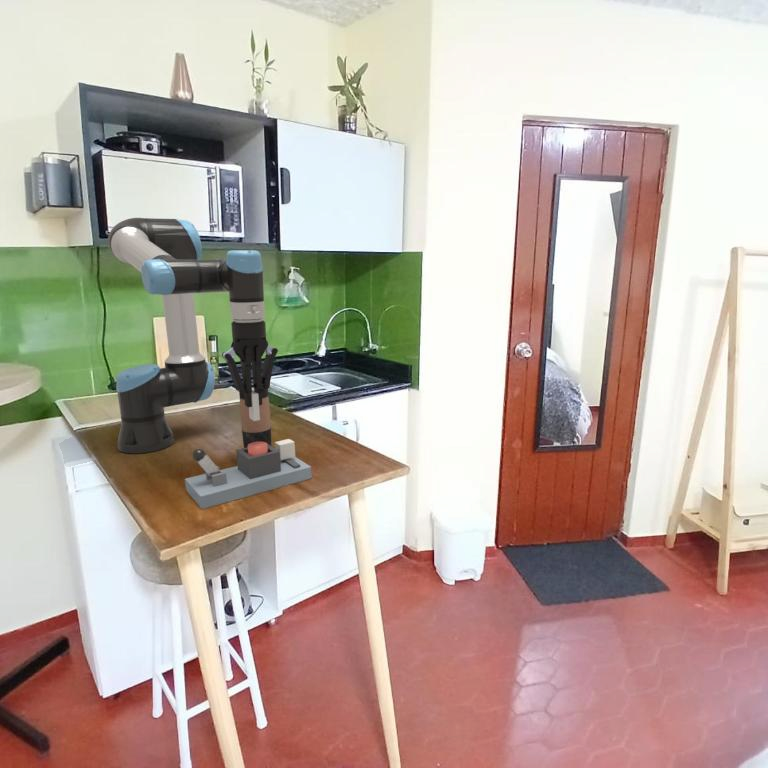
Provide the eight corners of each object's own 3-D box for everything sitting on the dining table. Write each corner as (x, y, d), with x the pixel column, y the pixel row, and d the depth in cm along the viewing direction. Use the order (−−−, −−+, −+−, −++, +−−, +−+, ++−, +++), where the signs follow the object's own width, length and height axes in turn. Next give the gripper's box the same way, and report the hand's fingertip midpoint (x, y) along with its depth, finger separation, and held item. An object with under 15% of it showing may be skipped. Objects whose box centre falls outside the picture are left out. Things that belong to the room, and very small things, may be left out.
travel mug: (278, 457, 142) (274, 386, 138) (254, 465, 137) (249, 392, 132) (262, 451, 147) (257, 382, 142) (238, 458, 142) (232, 388, 137)
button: (246, 465, 126) (244, 444, 125) (264, 461, 129) (262, 440, 128) (253, 471, 123) (252, 449, 121) (271, 466, 125) (270, 445, 124)
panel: (185, 490, 122) (182, 458, 120) (289, 463, 138) (288, 435, 136) (202, 509, 113) (198, 475, 111) (311, 478, 128) (310, 447, 126)
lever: (209, 477, 120) (188, 452, 116) (218, 469, 121) (198, 444, 117) (213, 481, 118) (192, 456, 114) (222, 472, 119) (202, 448, 115)
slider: (275, 456, 132) (274, 442, 131) (289, 453, 134) (289, 438, 133) (280, 460, 130) (279, 445, 129) (295, 456, 132) (294, 441, 131)
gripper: (226, 324, 111) (233, 428, 117) (281, 319, 118) (286, 418, 124) (214, 320, 117) (222, 420, 122) (268, 316, 124) (273, 410, 130)
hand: (254, 419), depth 123 cm, fingers closed
